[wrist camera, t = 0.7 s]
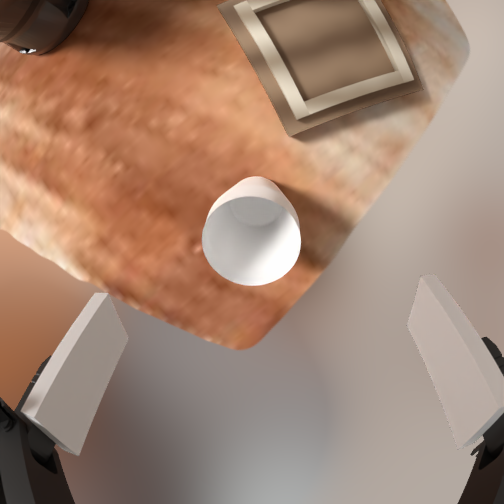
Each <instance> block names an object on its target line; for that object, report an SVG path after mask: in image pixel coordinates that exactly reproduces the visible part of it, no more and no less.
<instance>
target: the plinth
mask: <svg viewBox="0 0 504 504" xmlns="http://www.w3.org/2000/svg"><path fill="white" fill-rule="evenodd" d="M217 7H218V9H219V11H220V13H221V14H222V16H223V17H224V19H225V21H226V22H227V24H228V26H229V27H230V29H231V30H232V32H233V34H234V35H235V37H236V39H237V41H238V42H239V44H240V46H241V47H242V49H243V51H244V53H245V54H246V56H247V58H248V60H249V61H250V63H251V65H252V67H253V69H254V70H255V72H256V74H257V76H258V78H259V80H260V81H261V83H262V85H263V87H264V89H265V91H266V93H267V95H268V97H269V99H270V100H271V102H272V104H273V106H274V108H275V110H276V112H277V114H278V116H279V118H280V120H281V122H282V124H283V127H284V129H285V131H286V133H287V135H288V136H289V137H290V136H293V135H295V134H297V133H300V132H302V131H305V130H307V129H310V128H312V127H315V126H317V125H320V124H322V123H325V122H327V121H330V120H333V119H335V118H338V117H341V116H343V115H346V114H349V113H352V112H354V111H357V110H360V109H363V108H366V107H369V106H372V105H375V104H378V103H381V102H384V101H387V100H390V99H393V98H396V97H400V96H403V95H406V94H410V93H413V92H417V91H420V90H424V89H423V87H422V84H421V81H420V79H419V76H418V74H417V71H416V69H415V67H414V64H413V62H412V60H411V57H410V55H409V53H408V51H407V49H406V46H405V44H404V42H403V40H402V38H401V36H400V34H399V32H398V30H397V28H396V27H395V25H394V23H393V21H392V19H391V17H390V15H389V14H388V12H387V10H386V9H385V7H384V5H383V3H382V2H381V0H228V1H226V2H224V3H221V4H219V5H217Z"/></svg>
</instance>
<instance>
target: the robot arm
mask: <svg viewBox="0 0 504 504" xmlns="http://www.w3.org/2000/svg"><path fill="white" fill-rule="evenodd" d="M88 1H89V0H0V42H3V43H5V44H7V45H8V46H10V47H12V48H13V49H15V50H17V51H18V52H20V53H23V54H28V55H40V54H44V53H46V52H48V51H50V50H52V49H54V48H55V47H56V46H58V45H59V44H60V43H61V42H62V41H63V40H64V39H65V38H66V37H67V36H68V35H69V34H70V33H71V32H72V30H73V29H74V28H75V26H76V25H77V24H78V22H79V20H80V19H81V17H82V15H83V13H84V11H85V9H86V7H87V4H88ZM407 327H408V329H409V331H410V333H411V336H412V338H413V340H414V342H415V344H416V346H417V348H418V350H419V352H420V355H421V357H422V359H423V361H424V363H425V366H426V368H427V370H428V372H429V375H430V377H431V379H432V382H433V384H434V387H435V389H436V391H437V394H438V396H439V399H440V401H441V404H442V407H443V409H444V412H445V414H446V417H447V420H448V423H449V426H450V428H451V431H452V434H453V437H454V440H455V443H456V446H457V449H458V450H459V449H461V448H464V447H466V446H468V445H470V444H473V443H474V442H475V441H476V440H477V439H479V438H480V437H481V436H482V435H483V437H484V441H483V442H482V443H480V444H479V445H478V446H477V447H476V448H475V449H474V450H473V451H472V453H471V455H474V454H475V453H476V452H477V451H479V452H478V454H477V455H476V457H477V458H476V461H475V464H474V466H473V469H472V472H471V474H470V477H469V479H468V482H467V484H466V486H465V489H464V491H463V493H462V496H461V498H460V500H459V502H458V504H504V357H502V354H501V352H500V351H499V349H498V348H497V346H496V345H495V344H494V343H493V342H492V341H491V340H490V339H488V338H487V337H484V338H480V336H479V335H478V333H477V331H476V330H475V328H474V327H473V325H472V324H471V322H470V321H469V319H468V318H467V317H466V315H465V314H464V312H463V311H462V309H461V308H460V307H459V305H458V304H457V302H456V301H455V300H454V298H453V297H452V296H451V294H450V293H449V292H448V290H447V289H446V288H445V287H444V285H443V284H442V282H441V281H440V280H439V279H438V277H437V276H436V275H435V274H431V275H422V276H420V279H419V284H418V287H417V291H416V295H415V299H414V302H413V306H412V310H411V313H410V316H409V319H408V323H407ZM127 341H128V336H127V334H126V332H125V329H124V327H123V325H122V323H121V321H120V319H119V316H118V314H117V312H116V310H115V307H114V305H113V303H112V300H111V298H110V296H109V293H95V294H94V295H93V296H92V298H91V299H90V301H89V302H88V303H87V305H86V306H85V308H84V309H83V310H82V312H81V313H80V315H79V316H78V317H77V319H76V320H75V322H74V323H73V325H72V326H71V328H70V329H69V331H68V332H67V334H66V335H65V337H64V338H63V340H62V341H61V343H60V344H59V346H58V348H57V349H56V351H55V352H54V354H53V355H52V356H49V357H48V358H47V359H46V360H45V361H44V362H43V363H42V364H41V366H40V367H39V369H38V371H37V373H36V375H35V376H34V377H33V379H32V383H30V384H29V386H28V388H27V389H26V391H25V393H24V395H23V397H22V398H21V400H20V402H19V404H18V406H17V407H16V409H15V411H13V410H12V409H11V408H10V407H9V406H8V405H7V404H6V403H5V402H4V401H3V400H2V398H0V504H75V502H74V500H73V497H72V495H71V492H70V489H69V486H68V484H67V481H66V478H65V475H64V472H63V469H62V466H61V462H60V459H59V455H58V453H57V451H56V449H55V448H54V446H55V444H57V445H58V446H59V447H60V448H62V449H63V450H64V451H67V452H69V453H72V454H74V455H77V456H79V454H80V451H81V449H82V446H83V443H84V441H85V438H86V435H87V433H88V430H89V428H90V425H91V423H92V420H93V418H94V415H95V413H96V410H97V408H98V406H99V403H100V401H101V399H102V396H103V394H104V391H105V389H106V387H107V385H108V382H109V380H110V378H111V376H112V373H113V371H114V369H115V367H116V365H117V362H118V360H119V358H120V356H121V354H122V352H123V350H124V348H125V345H126V343H127Z"/></svg>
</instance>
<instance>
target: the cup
mask: <svg viewBox="0 0 504 504" xmlns="http://www.w3.org/2000/svg"><path fill="white" fill-rule="evenodd" d="M202 246H203V251H204V254H205V256H206V259H207V260H208V262H209V264H210V265H211V266H212V268H213V269H214V270H215V271H216V272H217V273H219V274H220V275H221V276H223V277H224V278H226V279H228V280H230V281H232V282H235V283H238V284H242V285H250V286H255V285H263V284H267V283H271V282H273V281H275V280H277V279H279V278H281V277H282V276H284V275H285V274H286V273H287V272H288V271H289V270H290V269H291V268H292V267H293V265H294V264H295V262H296V260H297V258H298V256H299V252H300V248H301V237H300V225H299V219H298V216H297V213H296V211H295V209H294V207H293V206H292V204H291V203H290V202H289V200H288V199H287V198H286V197H285V195H284V194H283V193H282V192H281V190H280V189H279V188H278V187H277V185H276V184H275V183H273V182H272V181H270V180H269V179H266V178H264V177H258V176H254V177H248V178H245V179H243V180H241V181H240V182H239V183H237V184H236V185H235V186H233V187H232V188H231V189H229V190H228V191H227V192H225V193H224V194H223V195H222V196H220V197H219V198H218V199H217V201H216V202H215V203H214V204H213V206H212V208H211V209H210V211H209V214H208V217H207V220H206V223H205V226H204V229H203V233H202Z"/></svg>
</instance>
